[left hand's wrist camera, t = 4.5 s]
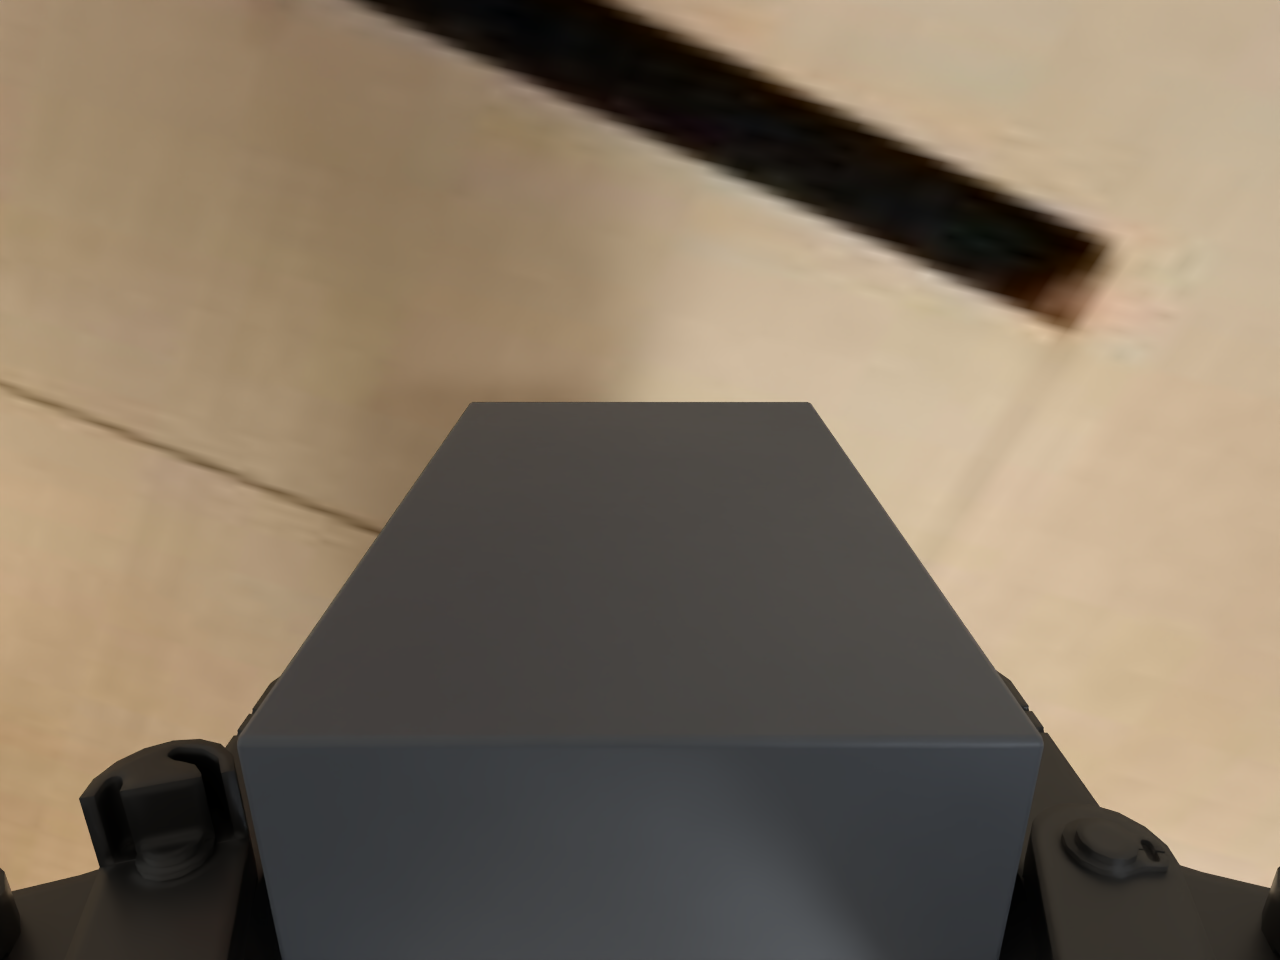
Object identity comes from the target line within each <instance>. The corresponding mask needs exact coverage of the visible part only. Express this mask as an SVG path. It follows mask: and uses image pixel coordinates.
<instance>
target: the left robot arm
mask: <svg viewBox="0 0 1280 960" xmlns="http://www.w3.org/2000/svg"><path fill="white" fill-rule="evenodd" d="M997 673H998V674H999V675H1000V677H1001V678H1002V680H1003V681H1004V683H1005V684H1006V686H1007V687H1008V688H1009V690H1010V691H1011V693H1012V694H1013V696H1014V697H1015V699H1016V700H1017V701H1018V703H1019V704H1020V706H1021V707H1022V709H1023V710H1024V711H1025V713H1026V714H1027V716H1028V717H1029V719H1030V720H1031V722H1032V723H1033V724H1034V726H1035V727H1036V729H1037V730H1038V732H1039V733H1040V735H1041V736H1042V739H1043V743H1044V748H1043V753H1042V758H1041V762H1040V767H1039V772H1038V777H1037V781H1036V786H1035V791H1034V795H1033V800H1032V805H1031V810H1030V814H1029V819H1028V824H1027V828H1026V833H1025V838H1024V843H1023V847H1022V852H1021V857H1020V861H1019V866H1018V871H1017V876H1016V880H1015V885H1014V890H1013V894H1012V899H1011V904H1010V909H1009V913H1008V918H1007V923H1006V927H1005V932H1004V937H1003V942H1002V946H1001V951H1000V956H999V960H1280V867H1279V868H1278V869H1277V872H1276V875H1275V877H1274V880H1273V883H1272V886H1271V888H1267V887H1263V886H1258V885H1254V884H1250V883H1246V882H1242V881H1237V880H1233V879H1229V878H1225V877H1220V876H1216V875H1212V874H1208V873H1204V872H1200V871H1197V870H1193V869H1190V868H1187V867H1184V866H1181V865H1179V863H1178V862H1177V860H1176V859H1175V857H1174V855H1173V854H1172V852H1171V851H1170V849H1169V848H1168V846H1167V845H1166V844H1165V843H1164V842H1162V841H1161V840H1160V839H1159V838H1158V837H1157V836H1155V835H1154V834H1153V833H1152V832H1151V831H1150V830H1148V829H1147V828H1146V827H1145V826H1143V825H1141V824H1139V823H1137V822H1135V821H1133V820H1131V819H1130V818H1128V817H1126V816H1124V815H1122V814H1120V813H1118V812H1115V811H1112V810H1108V809H1105V808H1102V807H1100V806H1099V805H1098V804H1097V802H1096V801H1095V799H1094V798H1093V797H1092V795H1091V794H1090V792H1089V791H1088V790H1087V788H1086V787H1085V785H1084V784H1083V782H1082V781H1081V780H1080V778H1079V777H1078V775H1077V774H1076V773H1075V771H1074V770H1073V768H1072V767H1071V765H1070V764H1069V763H1068V761H1067V760H1066V758H1065V757H1064V756H1063V754H1062V753H1061V751H1060V750H1059V749H1058V747H1057V746H1056V744H1055V743H1054V741H1053V740H1052V739H1051V737H1050V736H1049V734H1048V733H1044V730H1043V728H1044V727H1043V726H1042V724H1041V723H1040V722H1039V720H1038V719H1037V717H1036V716H1035V715H1034V713H1033V712H1032V711H1029V709H1028V707H1029V706H1028V705H1027V703H1026V702H1025V700H1024V699H1023V698H1022V696H1021V695H1020V693H1019V692H1018V691H1017V689H1016V688H1015V686H1014V685H1013V683H1012V682H1011V681H1010V680H1009V679H1007V678H1006V677H1005V676H1003V675H1002V674H1001V673H999V672H998V671H997ZM279 678H280V677H279ZM279 678H277V679H276V680H274V681H273V682H272V683H270V685H269V686H268V688H267V689H266V691H265V692H264V693H263V695H262V696H261V698H260V699H259V701H258V702H257V703H256V705H255V706H254V708H253V712H252V714H249V715H248V716H247V718H246V719H245V720H244V722H243V723H242V725H241V726H240V728H239V729H238V734H237V736H233V738H232V739H231V740H230V742H229V743H228V745H227V746H226V747H224V746H222V745H221V744H219V743H214V742H210V741H206V740H202V739H193V740H176V741H170V742H167V743H163V744H159V745H155V746H152V747H148V748H144V749H142V750H140V751H138V752H136V753H134V754H132V755H130V756H128V757H126V758H123V759H121V760H119V761H117V762H116V763H114V764H113V765H112V766H110V767H109V768H108V769H106V770H105V771H104V772H102V773H101V774H100V775H98V776H97V777H96V778H94V779H93V780H92V782H91V783H90V785H89V786H88V787H87V789H86V790H85V791H84V793H83V794H82V795H81V797H80V798H79V800H80V803H81V806H82V810H83V813H84V816H85V820H86V823H87V826H88V830H89V833H90V836H91V839H92V843H93V846H94V849H95V853H96V856H97V859H98V863H99V866H100V868H99V869H98V870H95V871H92V872H89V873H85V874H82V875H79V876H75V877H70V878H66V879H62V880H58V881H54V882H49V883H45V884H41V885H37V886H33V887H28V888H24V889H20V890H16V891H12V892H11V889H10V886H9V884H8V881H7V878H6V875H5V872H4V871H3V870H2V869H1V868H0V960H282V958H281V953H280V948H279V943H278V939H277V934H276V929H275V925H274V920H273V915H272V910H271V906H270V901H269V896H268V891H267V887H266V882H265V877H264V873H263V868H262V863H261V858H260V854H259V849H258V844H257V839H256V835H255V830H254V825H253V820H252V816H251V811H250V806H249V802H248V797H247V792H246V787H245V783H244V778H243V773H242V768H241V764H240V759H239V754H238V750H237V741H238V737H239V735H240V734H241V732H242V731H243V729H244V728H245V726H246V725H247V724H248V722H249V721H250V719H251V718H252V716H253V715H254V714H255V712H256V711H257V709H258V708H259V706H260V705H261V703H262V702H263V701H264V699H265V698H266V696H267V695H268V693H269V692H270V691H271V689H272V688H273V686H274V685H275V683H276V682H277V680H278V679H279Z"/></svg>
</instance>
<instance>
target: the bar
mask: <svg viewBox="0 0 1280 960" xmlns="http://www.w3.org/2000/svg"><path fill="white" fill-rule="evenodd" d="M1043 748H1044V743H1043V739H1042V736H1041V735H1040V733H1039V732H1038V730H1037V729H1036V727H1035V726H1034V724H1033V723H1032V722H1031V720H1030V719H1029V717H1028V716H1027V714H1026V713H1025V711H1024V710H1023V709H1022V707H1021V706H1020V704H1019V703H1018V701H1017V700H1016V699H1015V697H1014V696H1013V694H1012V693H1011V691H1010V690H1009V688H1008V687H1007V686H1006V684H1005V683H1004V681H1003V680H1002V678H1001V677H1000V675H999V674H998V673H997V671H996V670H995V668H994V667H993V665H992V664H991V662H990V661H989V660H988V658H987V657H986V655H985V654H984V652H983V651H982V650H981V648H980V647H979V645H978V644H977V642H976V641H975V639H974V638H973V637H972V635H971V634H970V632H969V631H968V629H967V628H966V626H965V625H964V624H963V622H962V621H961V619H960V618H959V616H958V615H957V614H956V612H955V611H954V609H953V608H952V606H951V605H950V603H949V602H948V601H947V599H946V598H945V596H944V595H943V593H942V592H941V590H940V589H939V588H938V586H937V585H936V583H935V582H934V580H933V579H932V577H931V576H930V575H929V573H928V572H927V570H926V569H925V567H924V566H923V565H922V563H921V562H920V560H919V559H918V557H917V556H916V554H915V553H914V552H913V550H912V549H911V547H910V546H909V544H908V543H907V541H906V540H905V539H904V537H903V536H902V534H901V533H900V531H899V530H898V529H897V527H896V526H895V524H894V523H893V521H892V520H891V518H890V517H889V516H888V514H887V513H886V511H885V510H884V508H883V507H882V505H881V504H880V503H879V501H878V500H877V498H876V497H875V495H874V494H873V493H872V491H871V490H870V488H869V487H868V485H867V484H866V482H865V481H864V480H863V478H862V477H861V475H860V474H859V472H858V471H857V469H856V468H855V467H854V465H853V464H852V462H851V461H850V459H849V458H848V456H847V455H846V454H845V452H844V451H843V449H842V448H841V446H840V445H839V444H838V442H837V441H836V439H835V438H834V436H833V435H832V433H831V432H830V431H829V429H828V428H827V426H826V425H825V423H824V422H823V420H822V419H821V418H820V416H819V415H818V413H817V412H816V410H815V409H814V408H813V406H812V405H811V403H808V402H472V403H470V404H469V406H468V407H467V409H466V410H465V411H464V413H463V414H462V416H461V417H460V419H459V420H458V422H457V423H456V424H455V426H454V427H453V429H452V430H451V432H450V433H449V435H448V436H447V437H446V439H445V440H444V442H443V443H442V445H441V446H440V447H439V449H438V450H437V452H436V453H435V455H434V456H433V458H432V459H431V460H430V462H429V463H428V465H427V466H426V468H425V469H424V470H423V472H422V473H421V475H420V476H419V478H418V479H417V481H416V482H415V483H414V485H413V486H412V488H411V489H410V491H409V492H408V493H407V495H406V496H405V498H404V499H403V501H402V502H401V504H400V505H399V506H398V508H397V509H396V511H395V512H394V514H393V515H392V516H391V518H390V519H389V521H388V522H387V524H386V525H385V527H384V528H383V529H382V531H381V532H380V534H379V535H378V537H377V538H376V539H375V541H374V542H373V544H372V545H371V547H370V548H369V550H368V551H367V552H366V554H365V555H364V557H363V558H362V560H361V561H360V563H359V564H358V565H357V567H356V568H355V570H354V571H353V573H352V574H351V575H350V577H349V578H348V580H347V581H346V583H345V584H344V586H343V587H342V588H341V590H340V591H339V593H338V594H337V596H336V597H335V598H334V600H333V601H332V603H331V604H330V606H329V607H328V609H327V610H326V611H325V613H324V614H323V616H322V617H321V619H320V620H319V621H318V623H317V624H316V626H315V627H314V629H313V630H312V632H311V633H310V634H309V636H308V637H307V639H306V640H305V642H304V643H303V644H302V646H301V647H300V649H299V650H298V652H297V653H296V655H295V656H294V657H293V659H292V660H291V662H290V663H289V665H288V666H287V667H286V669H285V670H284V672H283V673H282V675H281V676H280V678H279V679H278V680H277V682H276V683H275V685H274V686H273V688H272V689H271V691H270V692H269V693H268V695H267V696H266V698H265V699H264V701H263V702H262V703H261V705H260V706H259V708H258V709H257V711H256V712H255V714H254V715H253V716H252V718H251V719H250V721H249V722H248V724H247V725H246V726H245V728H244V729H243V731H242V732H241V734H240V735H239V737H238V741H237V750H238V754H239V759H240V764H241V768H242V773H243V778H244V783H245V787H246V792H247V797H248V802H249V806H250V811H251V816H252V820H253V825H254V830H255V835H256V839H257V844H258V849H259V854H260V858H261V863H262V868H263V873H264V877H265V882H266V887H267V891H268V896H269V901H270V906H271V910H272V915H273V920H274V925H275V929H276V934H277V939H278V943H279V948H280V953H281V958H282V960H999V956H1000V951H1001V946H1002V942H1003V937H1004V932H1005V927H1006V923H1007V918H1008V913H1009V909H1010V904H1011V899H1012V894H1013V890H1014V885H1015V880H1016V876H1017V871H1018V866H1019V861H1020V857H1021V852H1022V847H1023V843H1024V838H1025V833H1026V828H1027V824H1028V819H1029V814H1030V810H1031V805H1032V800H1033V795H1034V791H1035V786H1036V781H1037V777H1038V772H1039V767H1040V762H1041V758H1042V753H1043Z"/></svg>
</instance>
